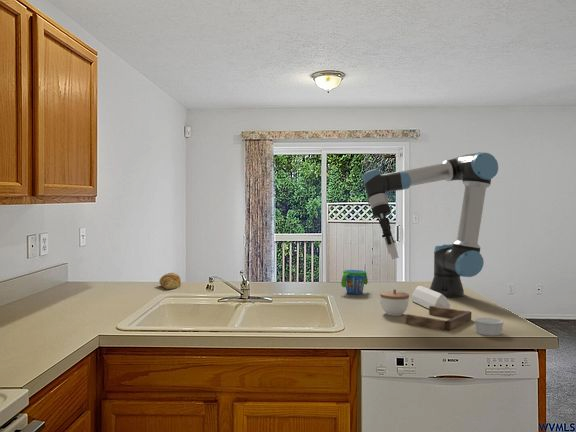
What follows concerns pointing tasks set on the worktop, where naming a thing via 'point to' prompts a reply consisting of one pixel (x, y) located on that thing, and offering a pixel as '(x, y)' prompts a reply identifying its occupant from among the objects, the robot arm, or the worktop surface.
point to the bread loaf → (170, 281)
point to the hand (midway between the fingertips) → (393, 255)
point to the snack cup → (354, 281)
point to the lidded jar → (394, 302)
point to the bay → (456, 319)
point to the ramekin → (488, 326)
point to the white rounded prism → (429, 298)
